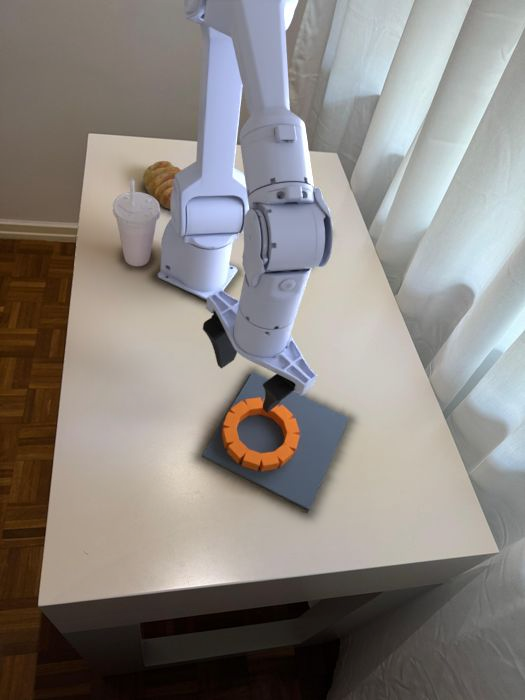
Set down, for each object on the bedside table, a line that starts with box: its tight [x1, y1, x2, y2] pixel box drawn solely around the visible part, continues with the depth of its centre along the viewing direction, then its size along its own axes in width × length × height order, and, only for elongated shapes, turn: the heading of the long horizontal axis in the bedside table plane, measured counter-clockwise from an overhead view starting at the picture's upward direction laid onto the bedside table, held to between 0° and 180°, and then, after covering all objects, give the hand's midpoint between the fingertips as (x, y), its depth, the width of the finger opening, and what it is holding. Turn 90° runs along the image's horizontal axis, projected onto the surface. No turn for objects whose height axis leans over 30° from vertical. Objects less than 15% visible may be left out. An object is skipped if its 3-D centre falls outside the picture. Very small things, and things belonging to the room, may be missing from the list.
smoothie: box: [112, 177, 161, 267], centre depth 80 cm, size 6×6×14 cm
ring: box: [222, 397, 300, 471], centre depth 70 cm, size 9×9×2 cm
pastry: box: [142, 160, 182, 211], centre depth 94 cm, size 9×7×4 cm
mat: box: [202, 371, 350, 511], centre depth 71 cm, size 14×14×1 cm
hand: (247, 384), depth 66 cm, fingers open, 7 cm apart
